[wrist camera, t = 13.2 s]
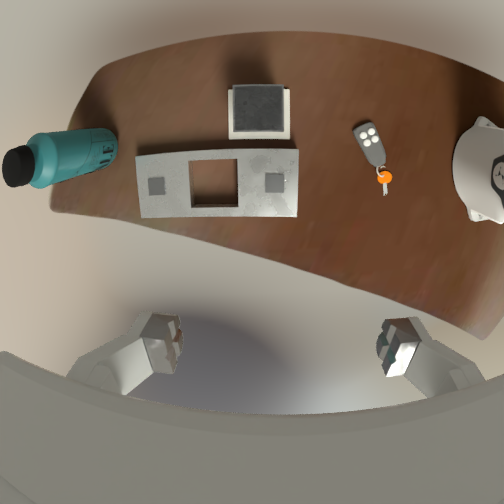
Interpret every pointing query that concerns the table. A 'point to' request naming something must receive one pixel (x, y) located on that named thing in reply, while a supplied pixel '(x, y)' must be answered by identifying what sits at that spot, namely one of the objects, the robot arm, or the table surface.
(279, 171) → the cabinet panel
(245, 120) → the dark grey box
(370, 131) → the key chain
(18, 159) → the beverage bottle
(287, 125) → the pad
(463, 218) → the table surface
